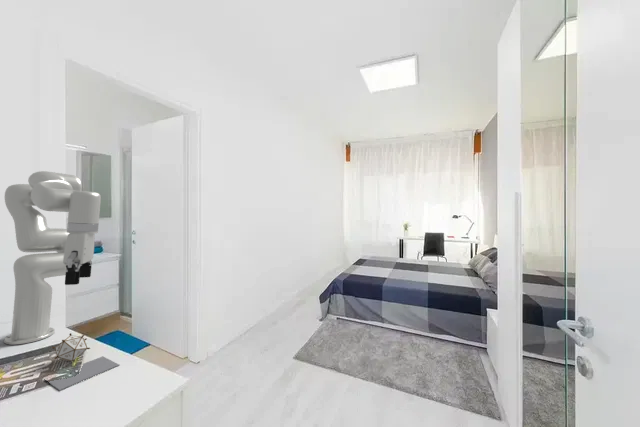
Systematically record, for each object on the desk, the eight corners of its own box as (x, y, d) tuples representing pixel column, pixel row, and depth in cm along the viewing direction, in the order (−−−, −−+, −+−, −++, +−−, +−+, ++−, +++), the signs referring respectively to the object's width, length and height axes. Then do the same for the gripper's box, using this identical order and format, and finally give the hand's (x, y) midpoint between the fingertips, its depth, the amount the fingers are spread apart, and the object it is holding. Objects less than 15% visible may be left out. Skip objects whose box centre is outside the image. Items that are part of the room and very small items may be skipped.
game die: (78, 369, 84) (103, 342, 86) (51, 374, 76) (79, 344, 79) (64, 351, 86) (88, 325, 89) (36, 354, 78) (64, 325, 81)
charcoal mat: (43, 379, 72) (43, 378, 72) (102, 357, 85) (102, 356, 85) (59, 391, 68) (59, 389, 68) (119, 365, 80) (119, 364, 81)
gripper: (78, 226, 89) (74, 275, 89) (54, 229, 74) (49, 288, 73) (105, 227, 93) (101, 274, 92) (88, 230, 77) (83, 286, 77)
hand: (78, 280), depth 83 cm, fingers open, 9 cm apart
